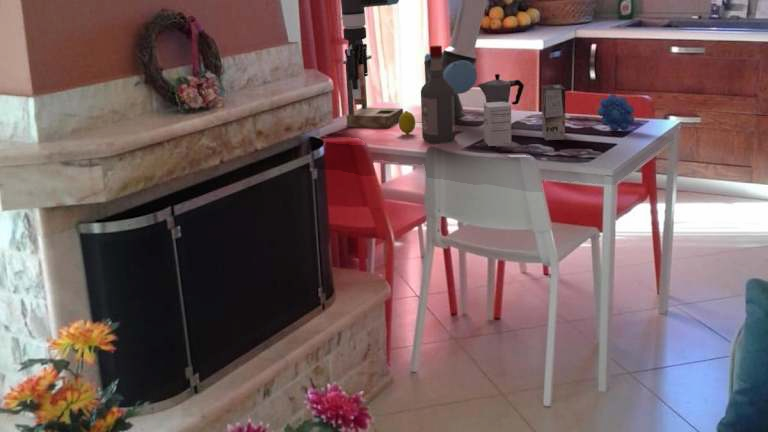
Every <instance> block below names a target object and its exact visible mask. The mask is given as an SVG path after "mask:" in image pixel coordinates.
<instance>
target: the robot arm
mask: <svg viewBox="0 0 768 432" xmlns="http://www.w3.org/2000/svg"><path fill="white" fill-rule="evenodd" d="M399 1H400V0H340V5H341V6H340V7H341V21H342V26H343V29H342V32H343V39H344V40H345V41H347V43H348V45H347V46H348V47H347V49H346V48H345V49H344V54H345V55H344V56H345V59H346V61H347V71H348V79H349V80H352V92H353V100H354V99H361V88H360V79H358V64H363V68H364V81H365V78H366V77H368V76H369V72H368V71H369V69H368V60H367V54H368V52H367V51H368V49H367V48H368V44H367V43H364V41H363V40H365V39H366V38H367V28H366V14H365V13H366V11H365V8H371V7H372V8H374V7H381V6H382V7H383V6H389V7H390V6H392V5H393V6H394V5H397V4H398V3H399ZM487 2H488V0H460V3H459V8H458V12H457V15H456V19H455V23H454V28H453V31H452V34H451V35H452V36H451V40H450V43H449V46H448V47H446V48H444V50H443V51H442V56H441V57H442V73H443V77H444V78H445V79H446V80H447V81H448V83H449V84H450V85H451V86H452V87H453V89H454V113H455V118H459V117H463V115H464V107H463V104H462V102H461V99H460V96H459V94H465V93H468V91H470V90H471V89H473V87H474V86H475V84H476V82H477V79H478V72H477V70H476V67H475V66H476V63H477V58H478V57H477V54H476V53H475V49H476V44H477V41H478V37H479V33H480V30H481V29H480V28H481V24H482V22H483V17H484V13H485V11H486V10H485V9H486V5H487ZM423 65H424V79H425V81H424V84H425V83H426V82H427V81H428V80H429V78H430V75H431V56H430V52H428V53H425V55H424V62H423ZM366 82H367V81H366ZM366 82H365V94H366V96H368V95H367V83H366Z"/></svg>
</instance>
